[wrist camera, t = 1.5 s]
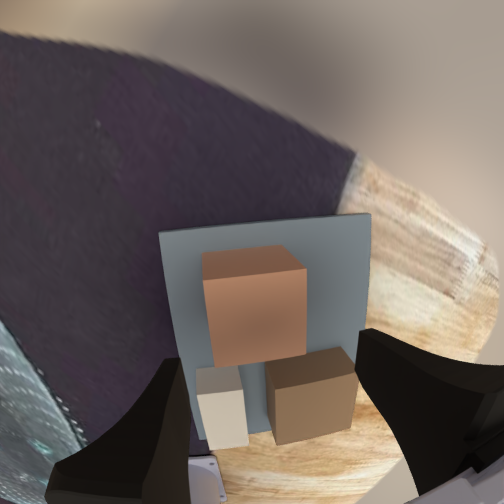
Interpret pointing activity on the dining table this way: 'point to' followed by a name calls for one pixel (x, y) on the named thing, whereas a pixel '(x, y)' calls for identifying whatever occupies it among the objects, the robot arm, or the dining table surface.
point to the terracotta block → (255, 304)
